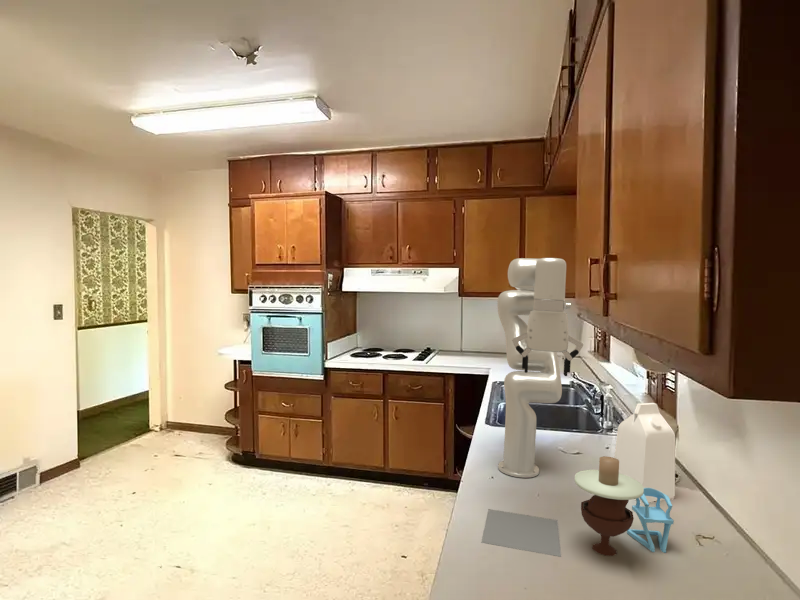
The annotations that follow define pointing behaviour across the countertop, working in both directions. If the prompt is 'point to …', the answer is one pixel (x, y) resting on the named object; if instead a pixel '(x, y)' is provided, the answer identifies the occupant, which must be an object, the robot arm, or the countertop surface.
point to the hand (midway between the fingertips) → (545, 373)
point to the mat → (522, 532)
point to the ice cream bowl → (606, 520)
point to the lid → (609, 481)
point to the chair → (652, 519)
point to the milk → (647, 450)
